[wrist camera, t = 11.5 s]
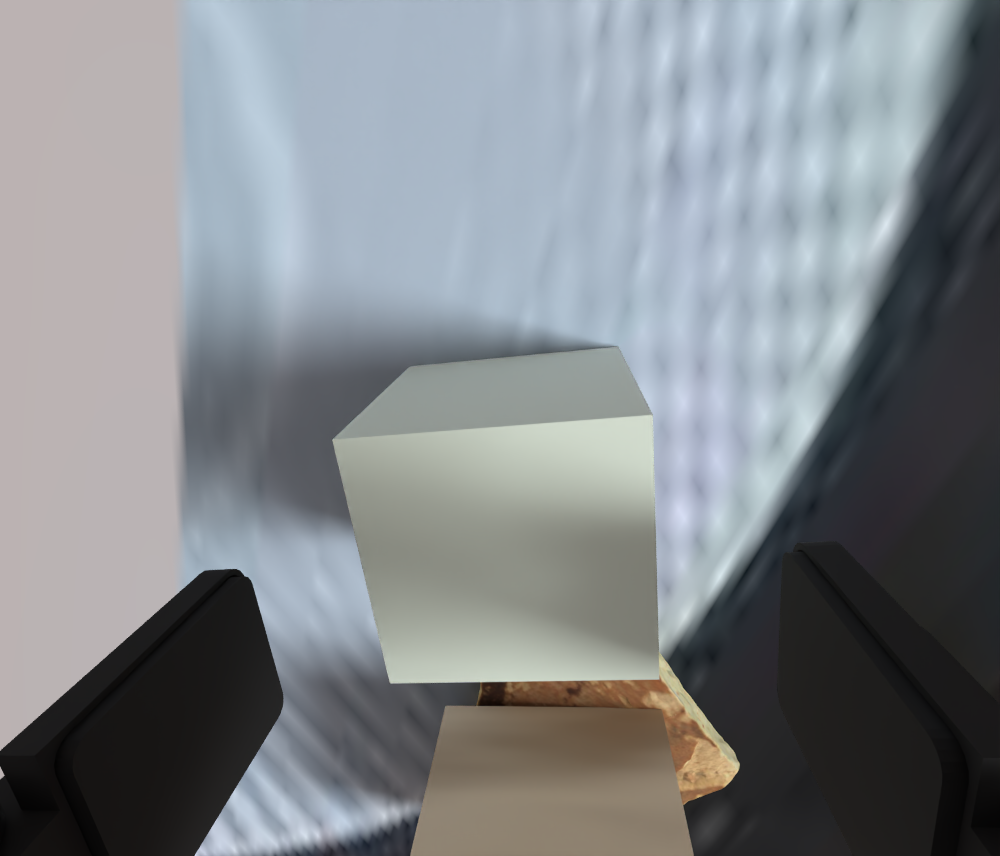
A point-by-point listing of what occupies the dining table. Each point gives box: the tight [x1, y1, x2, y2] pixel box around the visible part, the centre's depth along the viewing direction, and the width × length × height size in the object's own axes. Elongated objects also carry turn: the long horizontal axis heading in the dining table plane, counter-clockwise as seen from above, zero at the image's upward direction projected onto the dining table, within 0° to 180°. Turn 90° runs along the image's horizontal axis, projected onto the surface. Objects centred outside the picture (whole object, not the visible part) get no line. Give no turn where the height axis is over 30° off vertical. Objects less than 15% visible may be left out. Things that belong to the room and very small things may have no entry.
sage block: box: [332, 347, 659, 683], centre depth 12 cm, size 5×5×5 cm
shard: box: [476, 653, 740, 805], centre depth 17 cm, size 11×8×2 cm
